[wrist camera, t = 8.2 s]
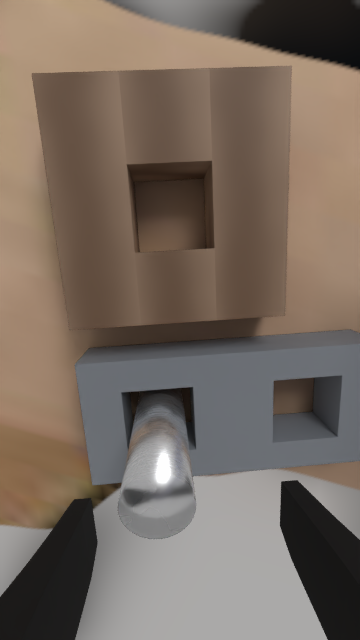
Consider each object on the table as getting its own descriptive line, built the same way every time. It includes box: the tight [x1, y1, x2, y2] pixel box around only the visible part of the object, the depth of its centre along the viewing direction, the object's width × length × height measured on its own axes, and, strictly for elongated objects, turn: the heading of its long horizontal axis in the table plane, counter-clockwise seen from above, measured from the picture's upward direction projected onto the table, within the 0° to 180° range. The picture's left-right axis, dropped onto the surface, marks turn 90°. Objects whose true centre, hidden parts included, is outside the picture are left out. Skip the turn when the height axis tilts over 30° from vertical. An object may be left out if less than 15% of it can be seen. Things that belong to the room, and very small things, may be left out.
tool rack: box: [75, 330, 360, 485], centre depth 18 cm, size 18×8×3 cm, turn 93°
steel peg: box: [118, 388, 196, 539], centre depth 15 cm, size 3×3×9 cm
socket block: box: [32, 66, 292, 330], centre depth 15 cm, size 12×12×3 cm
